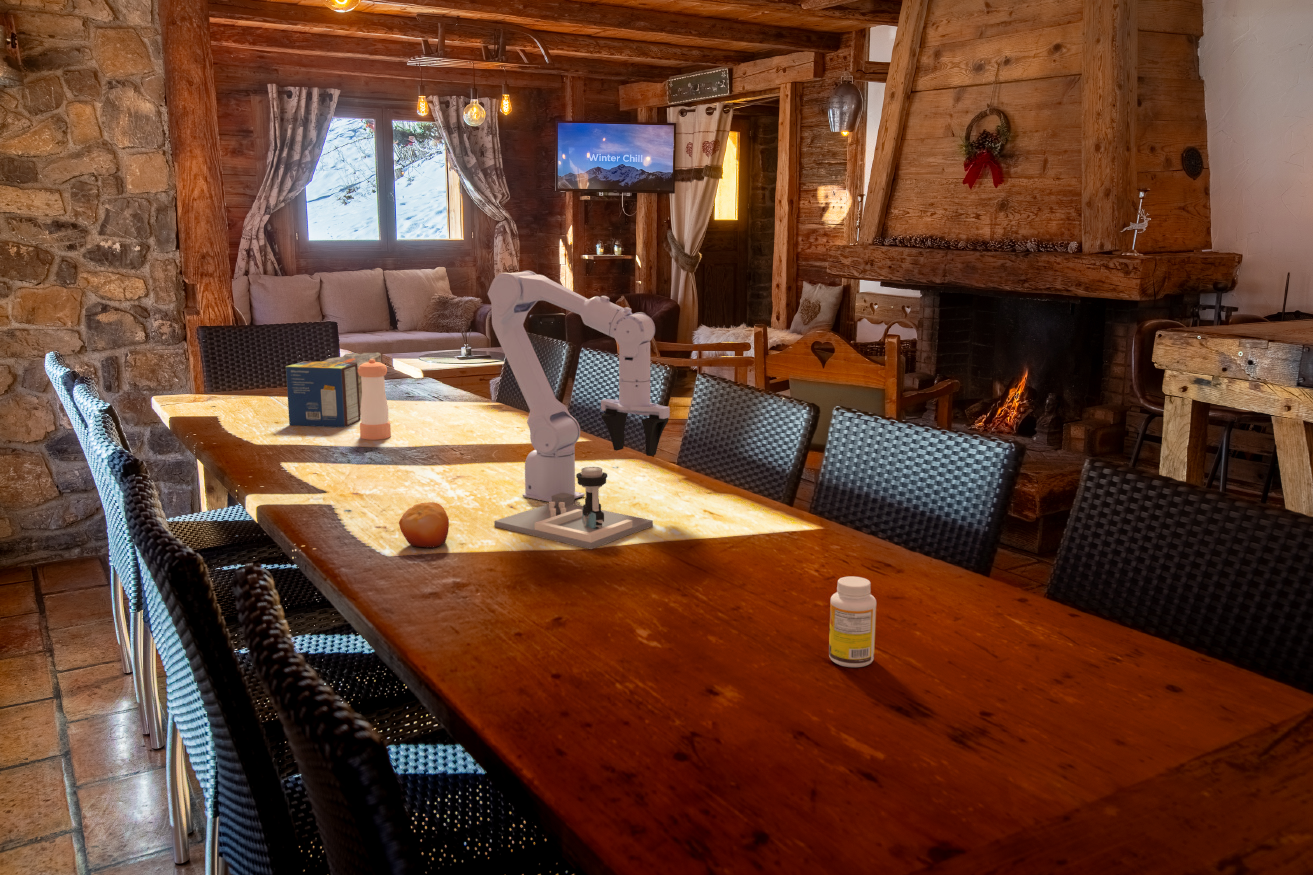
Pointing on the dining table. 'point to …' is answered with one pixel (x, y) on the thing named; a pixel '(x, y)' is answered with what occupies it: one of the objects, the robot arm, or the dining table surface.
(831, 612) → the supplement bottle
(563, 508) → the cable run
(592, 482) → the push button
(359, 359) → the petrified wood
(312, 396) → the protein box
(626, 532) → the mat
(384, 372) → the salt shaker
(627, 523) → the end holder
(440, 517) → the fruit
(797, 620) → the dining table surface
